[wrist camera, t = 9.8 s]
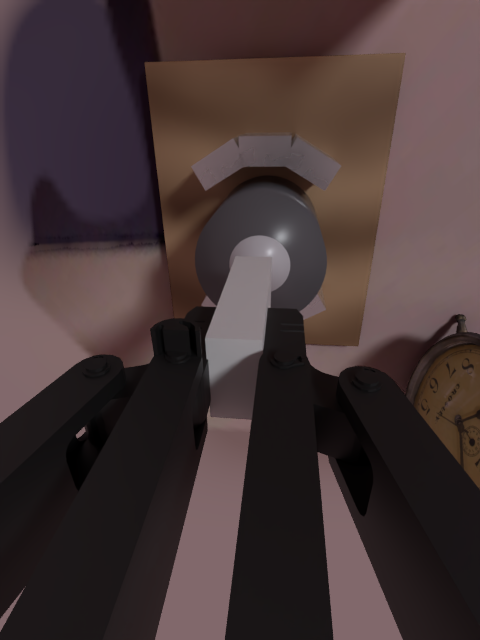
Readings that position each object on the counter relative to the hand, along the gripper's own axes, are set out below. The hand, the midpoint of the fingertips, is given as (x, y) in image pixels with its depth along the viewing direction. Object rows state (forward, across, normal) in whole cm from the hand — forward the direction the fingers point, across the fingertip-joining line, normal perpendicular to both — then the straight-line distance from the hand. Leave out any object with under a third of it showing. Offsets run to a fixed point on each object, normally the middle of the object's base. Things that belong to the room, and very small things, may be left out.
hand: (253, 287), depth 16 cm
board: (+11, 0, 0) cm, 11 cm away
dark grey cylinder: (+10, 0, 0) cm, 10 cm away
